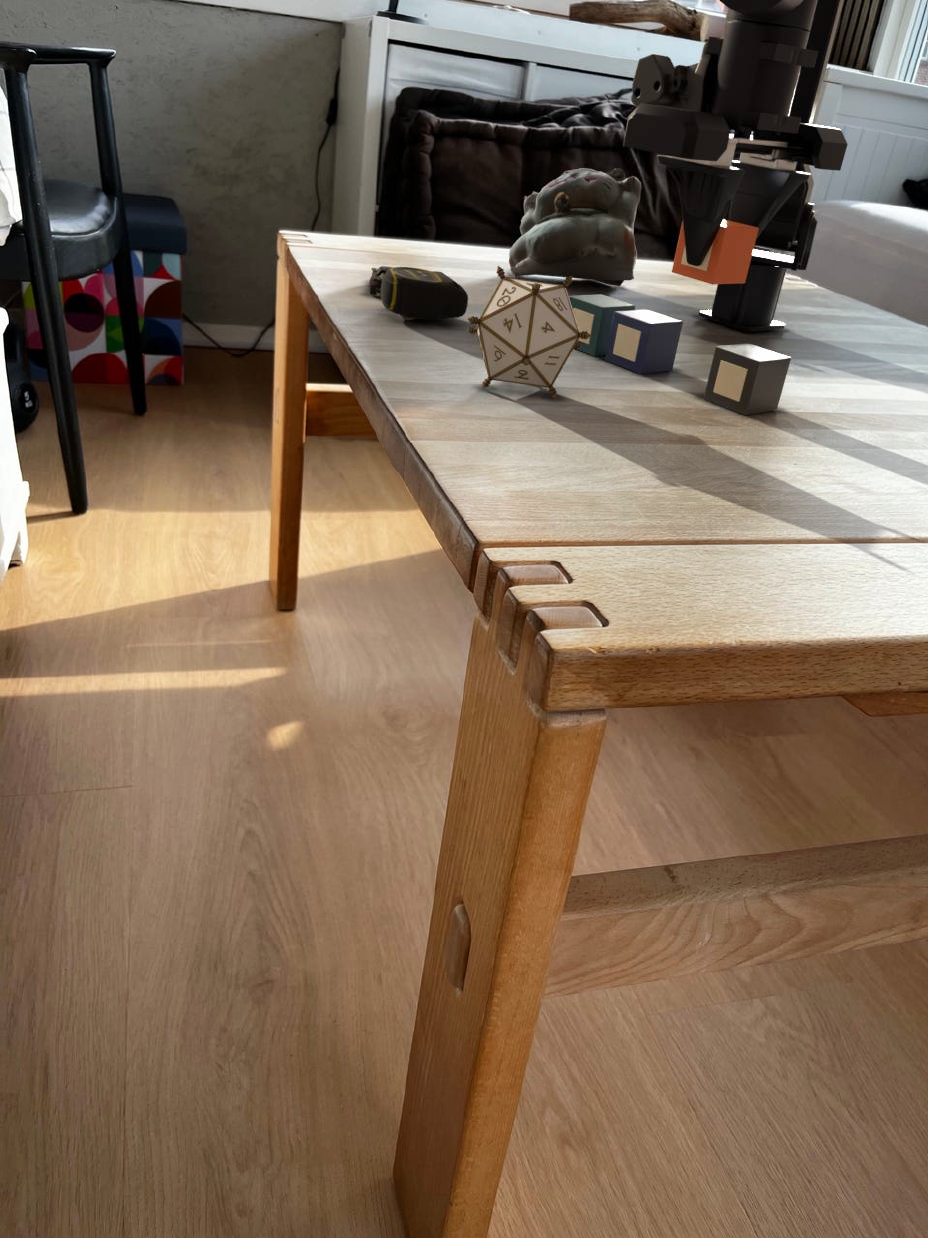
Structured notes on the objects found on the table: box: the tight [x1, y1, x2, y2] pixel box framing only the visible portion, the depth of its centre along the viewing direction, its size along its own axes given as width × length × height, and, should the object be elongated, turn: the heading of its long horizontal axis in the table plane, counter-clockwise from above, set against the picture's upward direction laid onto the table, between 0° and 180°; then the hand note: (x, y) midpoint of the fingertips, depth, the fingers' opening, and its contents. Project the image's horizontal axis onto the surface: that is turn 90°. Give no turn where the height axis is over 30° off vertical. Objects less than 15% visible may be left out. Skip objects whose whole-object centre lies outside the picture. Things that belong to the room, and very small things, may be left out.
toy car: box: [368, 265, 395, 296], centre depth 97 cm, size 8×3×2 cm, turn 2°
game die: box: [466, 265, 591, 399], centre depth 72 cm, size 9×8×10 cm
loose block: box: [671, 219, 759, 285], centre depth 77 cm, size 4×4×4 cm
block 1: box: [568, 293, 636, 357], centre depth 87 cm, size 4×4×4 cm
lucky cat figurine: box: [508, 167, 642, 287], centre depth 112 cm, size 15×12×14 cm
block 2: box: [604, 308, 684, 375], centre depth 83 cm, size 4×4×4 cm
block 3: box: [703, 343, 792, 416], centre depth 77 cm, size 4×4×4 cm
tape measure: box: [380, 266, 469, 321], centre depth 88 cm, size 7×7×4 cm
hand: (712, 264), depth 77 cm, fingers closed on loose block, 4 cm apart
